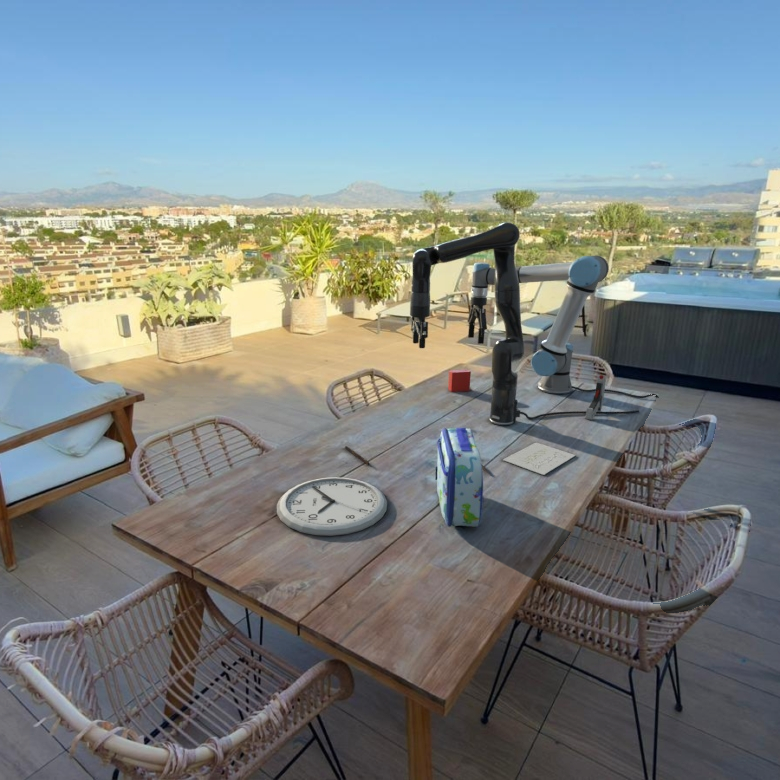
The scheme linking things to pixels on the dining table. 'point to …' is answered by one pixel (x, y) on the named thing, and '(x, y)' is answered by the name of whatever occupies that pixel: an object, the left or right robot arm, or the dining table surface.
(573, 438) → the dining table surface
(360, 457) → the brown thin stick
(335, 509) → the wall clock
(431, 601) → the dining table surface
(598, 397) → the toy gun
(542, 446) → the invitation card
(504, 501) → the dining table surface
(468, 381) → the brick
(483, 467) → the fork
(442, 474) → the lunch box
